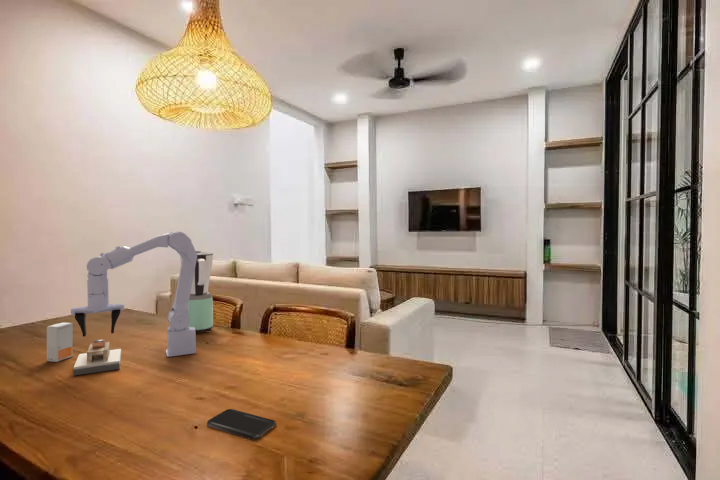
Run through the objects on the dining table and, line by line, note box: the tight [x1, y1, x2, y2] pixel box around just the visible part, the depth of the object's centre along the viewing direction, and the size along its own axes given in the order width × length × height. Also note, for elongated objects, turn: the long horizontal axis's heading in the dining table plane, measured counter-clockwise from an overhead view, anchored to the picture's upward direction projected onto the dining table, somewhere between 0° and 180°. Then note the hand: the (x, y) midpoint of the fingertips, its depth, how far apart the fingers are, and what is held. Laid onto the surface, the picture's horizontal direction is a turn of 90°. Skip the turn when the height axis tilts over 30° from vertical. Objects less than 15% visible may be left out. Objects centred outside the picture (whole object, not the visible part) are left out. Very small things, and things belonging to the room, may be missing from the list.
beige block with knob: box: [86, 341, 111, 363], centre depth 128 cm, size 6×10×4 cm, turn 30°
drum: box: [91, 338, 106, 349], centre depth 128 cm, size 4×4×2 cm
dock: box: [72, 348, 122, 376], centre depth 128 cm, size 12×15×2 cm
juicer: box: [179, 250, 214, 333], centre depth 169 cm, size 19×13×35 cm
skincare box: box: [46, 322, 74, 363], centre depth 134 cm, size 6×4×12 cm
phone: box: [206, 408, 277, 440], centre depth 91 cm, size 8×1×15 cm
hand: (98, 334), depth 128 cm, fingers open, 7 cm apart
